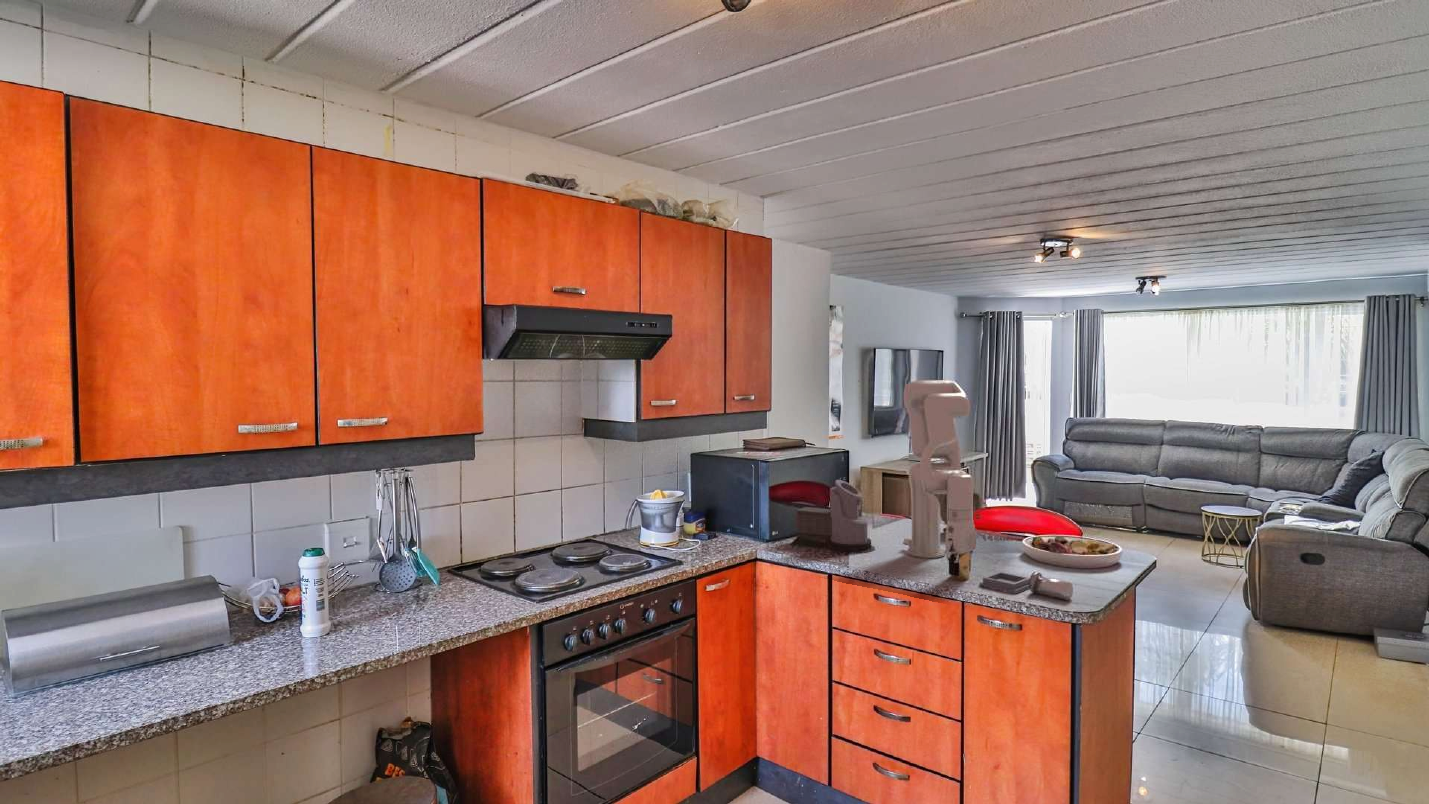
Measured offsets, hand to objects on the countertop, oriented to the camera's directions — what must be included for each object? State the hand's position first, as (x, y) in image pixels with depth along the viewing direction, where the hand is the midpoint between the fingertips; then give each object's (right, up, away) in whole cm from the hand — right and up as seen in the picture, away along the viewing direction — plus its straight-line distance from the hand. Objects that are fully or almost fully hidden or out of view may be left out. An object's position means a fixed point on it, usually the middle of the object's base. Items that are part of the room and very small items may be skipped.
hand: (959, 572), depth 227 cm
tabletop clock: (+20, +1, +61) cm, 64 cm away
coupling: (0, -2, 0) cm, 2 cm away
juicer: (-31, -1, +44) cm, 54 cm away
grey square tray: (+11, -2, -10) cm, 14 cm away
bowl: (+44, -1, +22) cm, 49 cm away
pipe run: (+19, -2, -19) cm, 27 cm away
